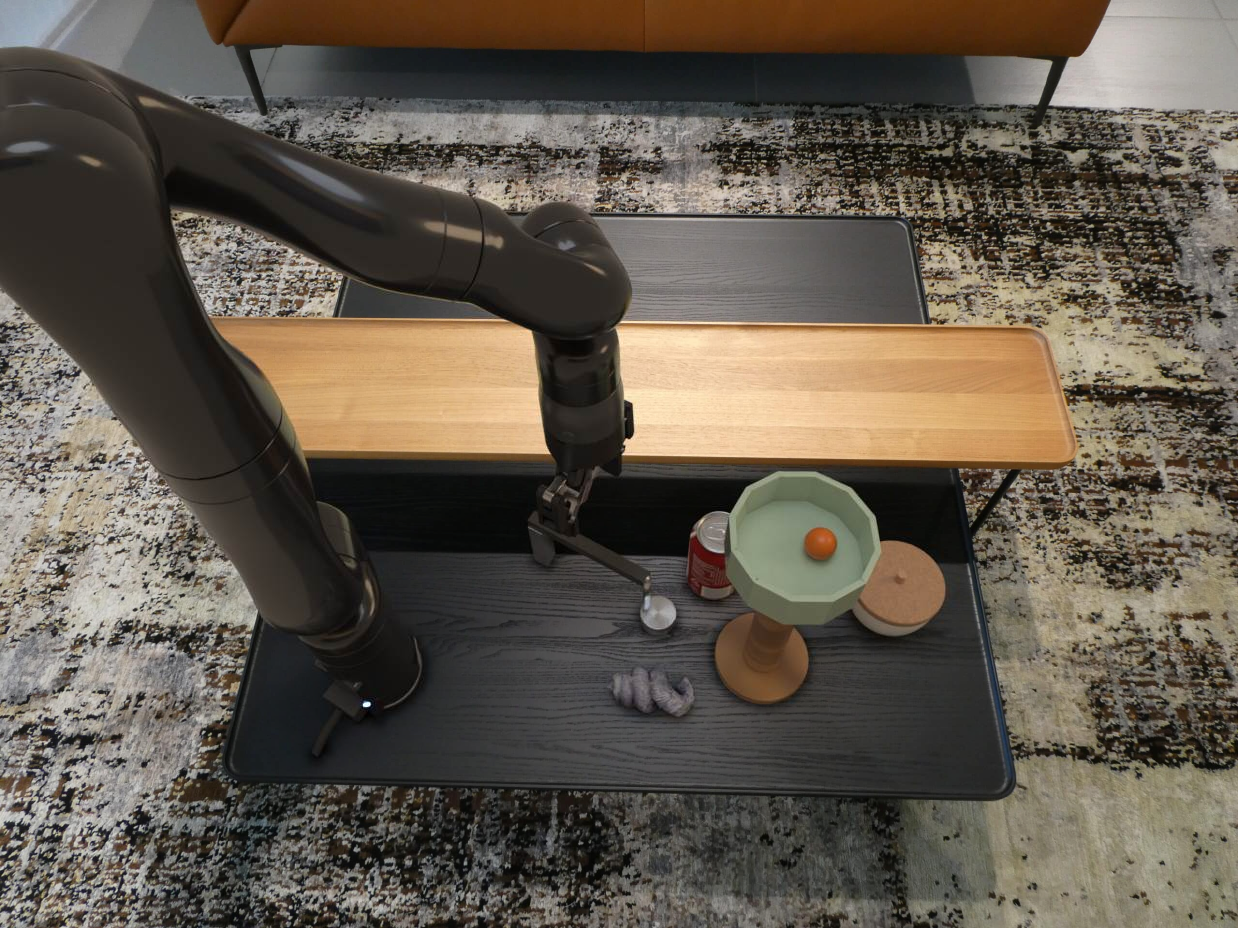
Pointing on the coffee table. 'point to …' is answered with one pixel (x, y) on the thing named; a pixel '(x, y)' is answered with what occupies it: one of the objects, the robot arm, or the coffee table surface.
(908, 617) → the trinket box
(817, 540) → the ball
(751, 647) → the stand
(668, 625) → the ladle
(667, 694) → the seashell
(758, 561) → the bowl
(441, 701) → the coffee table surface
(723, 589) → the soda can
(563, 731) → the coffee table surface
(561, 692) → the coffee table surface
